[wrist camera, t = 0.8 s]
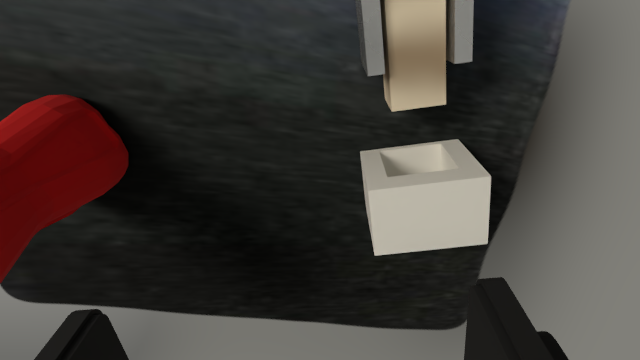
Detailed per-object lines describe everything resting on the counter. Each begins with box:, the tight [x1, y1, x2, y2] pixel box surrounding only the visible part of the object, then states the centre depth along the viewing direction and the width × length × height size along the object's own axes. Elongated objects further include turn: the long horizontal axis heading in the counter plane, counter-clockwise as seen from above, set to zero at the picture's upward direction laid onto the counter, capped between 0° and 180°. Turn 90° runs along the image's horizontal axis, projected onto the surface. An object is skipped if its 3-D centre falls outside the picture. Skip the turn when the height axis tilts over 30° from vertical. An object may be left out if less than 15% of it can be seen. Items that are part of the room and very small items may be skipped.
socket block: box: [360, 139, 491, 256], centre depth 33 cm, size 6×9×8 cm, turn 98°
